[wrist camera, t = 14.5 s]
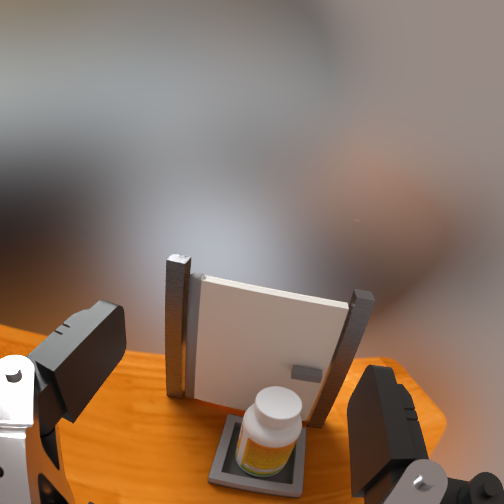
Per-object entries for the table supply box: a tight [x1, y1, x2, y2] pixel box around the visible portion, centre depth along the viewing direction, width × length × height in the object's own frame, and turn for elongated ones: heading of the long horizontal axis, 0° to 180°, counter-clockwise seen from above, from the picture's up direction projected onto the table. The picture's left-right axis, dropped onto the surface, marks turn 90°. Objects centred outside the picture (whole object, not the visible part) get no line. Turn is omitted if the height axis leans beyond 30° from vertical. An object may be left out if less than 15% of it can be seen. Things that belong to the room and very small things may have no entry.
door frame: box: [165, 254, 375, 428], centre depth 30 cm, size 19×2×18 cm, turn 81°
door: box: [185, 273, 349, 421], centre depth 30 cm, size 15×3×16 cm, turn 81°
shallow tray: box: [208, 414, 306, 498], centre depth 26 cm, size 9×9×1 cm
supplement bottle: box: [235, 386, 302, 477], centre depth 25 cm, size 5×5×10 cm
